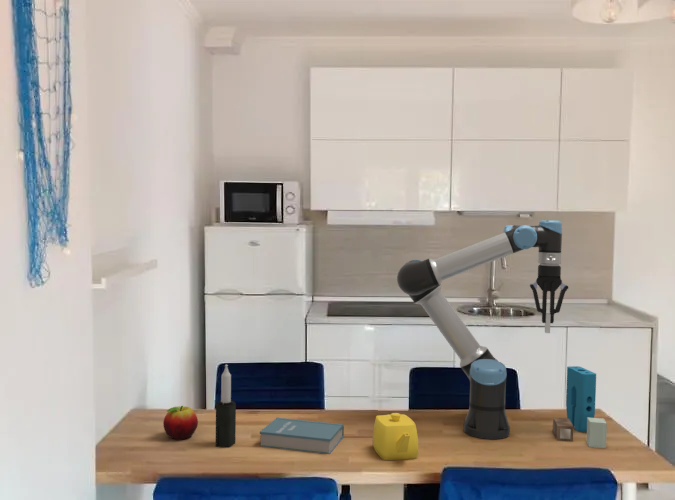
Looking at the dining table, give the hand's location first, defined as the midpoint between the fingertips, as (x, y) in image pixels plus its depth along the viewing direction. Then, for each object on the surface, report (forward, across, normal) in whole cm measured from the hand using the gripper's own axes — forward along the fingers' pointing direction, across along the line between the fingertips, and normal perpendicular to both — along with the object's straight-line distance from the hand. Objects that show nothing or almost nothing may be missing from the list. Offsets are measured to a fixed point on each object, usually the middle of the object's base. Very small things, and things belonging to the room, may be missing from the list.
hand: (547, 332), depth 226 cm
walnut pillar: (+30, +5, -16) cm, 35 cm away
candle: (+33, -99, -48) cm, 115 cm away
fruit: (+33, -116, -45) cm, 128 cm away
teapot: (+33, -47, -42) cm, 71 cm away
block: (+33, +12, 0) cm, 35 cm away
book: (+33, -77, -39) cm, 92 cm away
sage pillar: (+33, +14, -18) cm, 40 cm away
